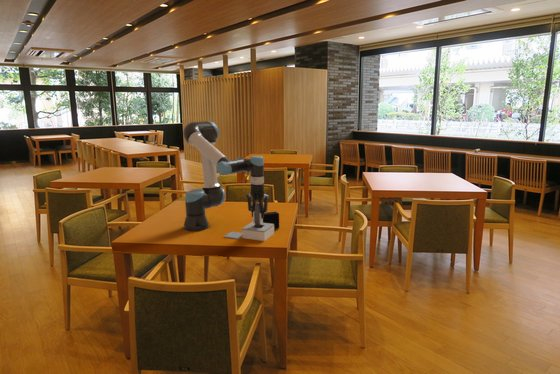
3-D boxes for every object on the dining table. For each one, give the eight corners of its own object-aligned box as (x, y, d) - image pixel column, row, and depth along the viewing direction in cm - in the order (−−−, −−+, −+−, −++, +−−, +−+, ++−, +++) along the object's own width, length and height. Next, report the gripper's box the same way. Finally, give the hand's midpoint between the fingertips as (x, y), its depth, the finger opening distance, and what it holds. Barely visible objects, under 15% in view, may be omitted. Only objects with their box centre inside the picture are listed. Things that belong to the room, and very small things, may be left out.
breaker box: (242, 238, 220) (242, 228, 218) (252, 230, 232) (252, 221, 231) (264, 241, 215) (264, 231, 213) (274, 233, 227) (274, 223, 226)
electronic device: (261, 228, 236) (261, 213, 234) (276, 226, 239) (276, 211, 237) (263, 230, 232) (263, 214, 230) (279, 228, 236) (279, 213, 233)
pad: (224, 237, 221) (223, 236, 221) (231, 232, 229) (231, 231, 229) (237, 239, 218) (237, 238, 218) (245, 234, 226) (245, 233, 226)
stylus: (254, 231, 222) (253, 203, 218) (256, 230, 225) (256, 202, 222) (259, 232, 221) (259, 204, 217) (262, 230, 224) (261, 202, 220)
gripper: (241, 183, 216) (242, 223, 221) (268, 185, 211) (268, 226, 216) (247, 181, 223) (248, 219, 228) (273, 183, 217) (273, 222, 222)
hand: (258, 223), depth 222 cm, fingers closed on stylus, 3 cm apart
